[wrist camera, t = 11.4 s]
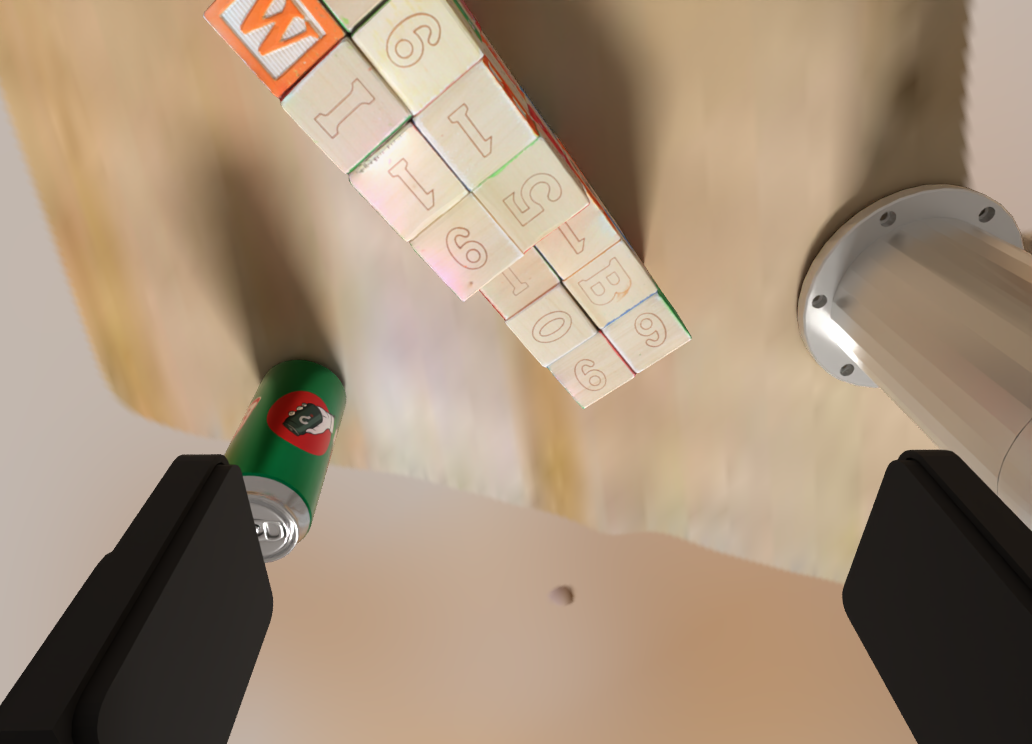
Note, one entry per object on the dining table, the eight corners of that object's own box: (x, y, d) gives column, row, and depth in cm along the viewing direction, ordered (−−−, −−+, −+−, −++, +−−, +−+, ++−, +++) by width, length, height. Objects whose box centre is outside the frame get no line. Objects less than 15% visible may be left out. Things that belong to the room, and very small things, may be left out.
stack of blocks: (648, 264, 38) (716, 376, 28) (558, 325, 40) (590, 453, 29) (393, -103, 29) (348, -146, 18) (290, -3, 30) (194, 12, 20)
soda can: (256, 354, 39) (182, 489, 29) (344, 354, 40) (300, 488, 30) (269, 424, 42) (204, 570, 32) (351, 424, 42) (312, 569, 32)
